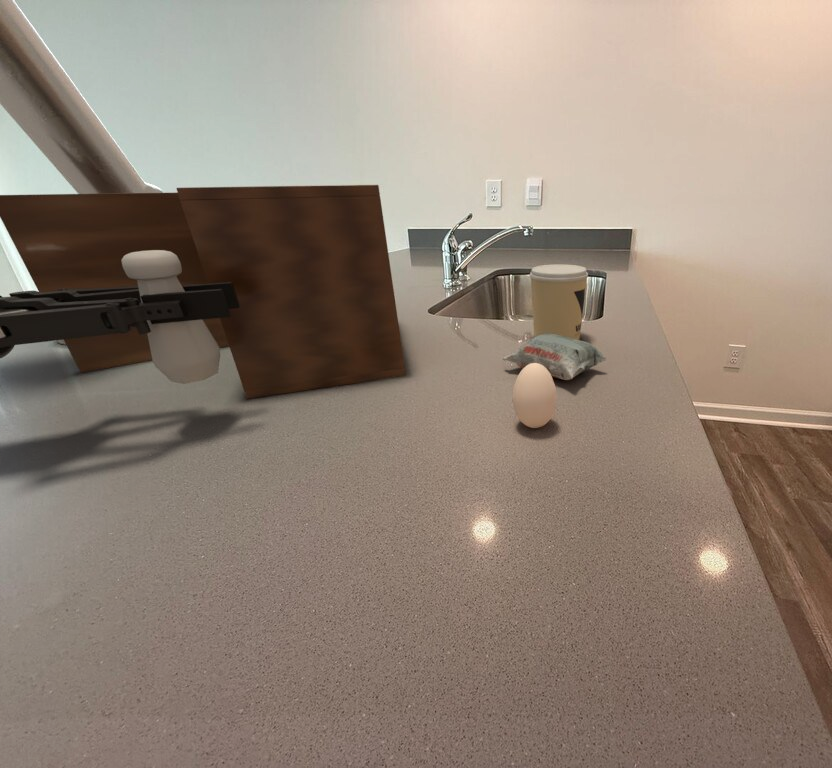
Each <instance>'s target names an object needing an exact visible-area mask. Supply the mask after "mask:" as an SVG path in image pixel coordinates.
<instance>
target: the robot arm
mask: <svg viewBox="0 0 832 768" xmlns="http://www.w3.org/2000/svg"><path fill="white" fill-rule="evenodd" d="M0 106H1V107H2V108H3V109H4V110H5V111H6V113H8V115H9V116H10V117H11V118H12V119H13V121H14V122H15V123H16V124H17V125H18V126H19V127H20V129H21V130H22V131H23V132H24V133H25V134H26V136H27V137H28V138H29V139H30V140H31V142H33V144H34V145H35V146H36V147H37V148H38V150H40V152H41V153H42V154H43V155H44V156H45V157H46V158H47V160H48V161H49V162H50V163H51V164H52V165H53V167H54V168H55V169H56V170H57V171H58V172H59V174H60V175H61V176H62V177H63V178H64V179H65V181H66V182H67V183H68V184H69V185H70V187H72V189H74V191H75V192H76V194H108V193H165V192H164V191H163V190H162V189H161V188H160V187H159V186H156V185H154V184H151V183H148V182H145V181H144V179H143V178H142V177H141V175H140V174H139V172H138V171H137V170H136V168H135V166H133V164H132V163H131V161H130V159H128V157H127V155H126V154H125V153H124V151H123V150H122V149H121V147H120V146H119V145H118V143H117V142H116V140H115V139H114V138H113V136H112V134H110V131H108V129H107V128H106V126H105V125H104V123H103V122H102V121H101V119H100V118H99V116H98V115H97V114H96V113H95V111H94V110H93V108H92V107H91V105H90V104H89V103H88V100H86V99H85V97H84V96H83V95H82V93H81V91H80V89H78V87H77V86H76V85H75V83H74V81H72V79H71V77H70V76H69V75H68V74H67V72H66V70H65V69H64V68H63V66H62V65H61V63H60V62H59V60H58V59H57V58H56V57H55V55H54V54H53V53H52V51H51V50H50V48H49V47H48V46H47V44H46V43H45V41H44V40H43V38H42V36H40V34H39V33H38V32H37V29H36V28H35V27H34V26H33V24H32V23H31V22H30V20H29V19H28V18H27V16H26V15H25V13H24V12H23V11H22V9H21V8H20V6H19V5H18V4H17V2H16V0H0ZM182 287H183V289H184V291H185V292H174V293H162V294H153V295H142V296H140V293H139V288H138V286H125V287H108V288H91V289H66V288H62V289H60V290H57V291H53V292H39V291H38V290H23V291H15V292H10V293H8V296H2V295H0V359H2V358H4V357H6V356H8V355H9V354H10V353H11V352H12V351H13V350H14V348H15V346H19V345H27V344H37V343H38V344H39V343H46V342H56V341H57V342H58V344H61V345H64V346H67V345H66V343H65V341H64V339H73V338H81V337H90V336H99V335H107V334H116V333H119V334H122V333H126V332H128V331H130V330H131V329H130V327H136V328H137V330H138V333H139V335H141V334H146V333H150V332H151V329H150V327H149V325H148V322H147V320H150V321H151V323H152V324H160V323H171V322H181V321H192V320H203V319H213V318H224V317H229V316H230V315H231V314H230V311H229V309H235V308H239V307H240V305H239V302H238V299H237V295H236V292H235V289H234V286H233V283H232V282H224V283H211V284H197V285H183V286H182ZM140 297H141V298H140ZM141 299H142V302H143V303H141Z"/></svg>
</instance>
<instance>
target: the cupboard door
mask: <svg viewBox="0 0 832 768" xmlns="http://www.w3.org/2000/svg"><path fill="white" fill-rule="evenodd" d="M0 219H1V222H2V224H3V226H4V228H5V230H6V232H7V234H8V235H9V237H10V239H11V241H12V243H13V245H14V247H15V249H16V251H17V253H18V255H19V257H20V259H21V260H22V263H23V264H24V266H25V268H26V270H27V272H28V274H29V276H30V277H31V280H32V281H33V283H34V286H35V287H36V289H37V291H38V292H53V291H57V290H60V289H62V288H66V289H91V288H108V287H125V286H138V283H137V280H135V279H132V278H129V277H128V276H127V275H126V273H125V271H124V269H123V266H122V261H121V260H122V258H123V257H124V256H125V255H127V254H129V253H132V252H139V251H149V250H164V251H170V252H172V253H174V254H175V255H177V257H178V259H179V261H180V263H181V267H182V272H181V273H180V274H179V275H177V276H176V277H177V279H178V280H179V282H180V284H181V286H183V285H197V284H208V281H207V278H206V275H205V273H204V270H203V267H202V264H201V261H200V258H199V255H198V252H197V249H196V246H195V243H194V240H193V237H192V234H191V231H190V228H189V225H188V222H187V219H186V216H185V213H184V210H183V207H182V204H181V200H180V198H179V195H178V192H177V191H176V192H164V193H108V194H78V193H54V194H53V193H52V194H51V193H49V194H47V193H46V194H45V193H43V194H40V193H39V194H0ZM203 321H204V323H205V325H206V326H207V328H208V330H209V331H210V333H211V334H212V336H213V338H214V339H215V341H216V342H217V344H218V346H219V347H220V349H221V348H226V347H229V344H228V341H227V338H226V335H225V332H224V329H223V326H222V323H221V320H220V318H213V319H203ZM130 329H131V330H130V331H128V332H126V333H122V334H119V333H116V334H107V335H99V336H90V337H81V338H73V339H64V341H65V343H66V345H65V346H66V348H67V349H68V351H69V353H70V355H71V357H72V359H73V361H74V363H75V365H76V366H77V367H76V368H78V371H79V373H88V372H94V371H99V370H105V369H110V368H111V369H112V368H115V367H120V366H121V367H122V366H126V365H133V364H138V363H143V362H150V361H153V360H152V355H151V350H150V345H149V340H148V334H147V333H146V334H141V335H139V333H138V330H137V328H136V327H130Z"/></svg>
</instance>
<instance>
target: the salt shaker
mask: <svg viewBox="0 0 832 768" xmlns="http://www.w3.org/2000/svg"><path fill="white" fill-rule="evenodd" d="M121 261H122V266H123V269H124V271H125V273H126V275H127V276H128V277H129V278H132V279H135V280H137V283H138V288H139V293H140V296H142V295H153V294H162V293H174V292H185V291H184V289H183V287H182V286H181V284H180V282H179V280H178V279H177V277H176V276H177V275H179V274H180V273H181V272H182V267H181V263H180V261H179V259H178V257H177V255H175V254H174V253H172V252H170V251H164V250H149V251H139V252H132V253H129V254H127V255H125V256H124V257H123V258H122V260H121ZM140 298H141V297H140ZM141 303H143V302H142V299H141ZM147 322H148V325H149V327H150V329H151V332H150V333H147V334H148V340H149V345H150V350H151V355H152V360H151V361H152V363H153V365H154V367H155V368H156V369H157V370H158V371H159V372H160V373H162V374H163V375H164V377H166V378H167V379H168V380H169V381H170V382H171V383H177V384H182V385H186V384H190V383H195V382H200V381H206V380H208V379H209V378H211V377H213V376H215V375H217V374H218V373H219V367H220V360H221V348H220V347H219V346H218V344H217V342H216V341H215V339H214V338H213V336H212V334H211V333H210V331H209V330H208V328H207V326H206V325H205V323H204V321H203V320H192V321H181V322H171V323H160V324H152V323H151V321H150V320H147Z"/></svg>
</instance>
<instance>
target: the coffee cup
mask: <svg viewBox="0 0 832 768" xmlns="http://www.w3.org/2000/svg"><path fill="white" fill-rule="evenodd" d="M588 277H589V273H588V272H587V268H586V267H585V266H582V265H577V264H576V265H575V264H566V263H565V264H563V263H562V264H559V263H558V264H557V263H556V264H544V265H543V264H542V265H537V266H534V267H532V268H531V271H530V273H529V278H530V289H531V305H532V322H533V334H534V338H535V337H537V336H538V335H541V334H556V335H561V336H564V337H568V338H572V339H576V340H580V338H581V337H580V336H581V330H582V322H583V314H584V313H583V312H584V307H585V306H584V305H585V298H586V288H587V280H588Z"/></svg>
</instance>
